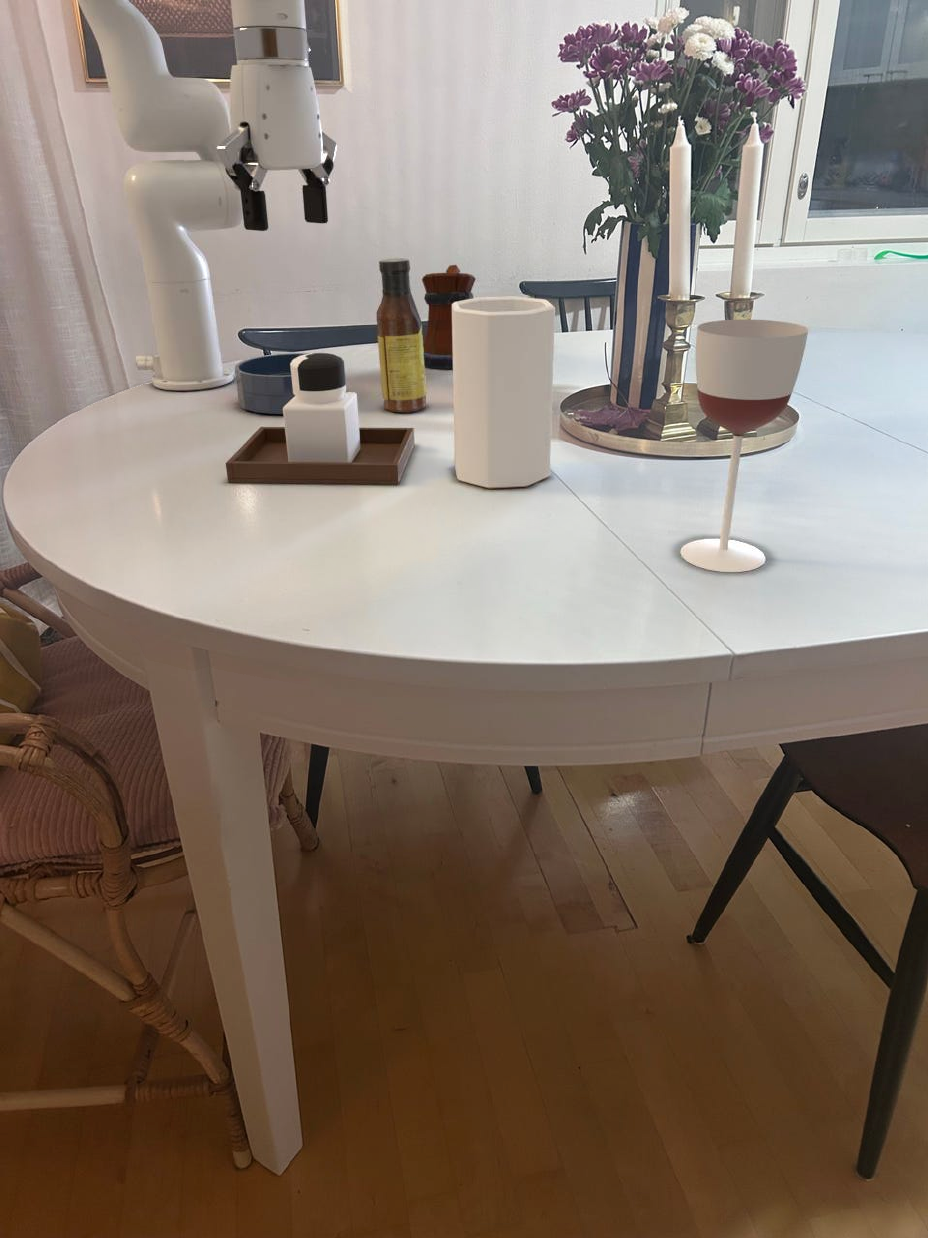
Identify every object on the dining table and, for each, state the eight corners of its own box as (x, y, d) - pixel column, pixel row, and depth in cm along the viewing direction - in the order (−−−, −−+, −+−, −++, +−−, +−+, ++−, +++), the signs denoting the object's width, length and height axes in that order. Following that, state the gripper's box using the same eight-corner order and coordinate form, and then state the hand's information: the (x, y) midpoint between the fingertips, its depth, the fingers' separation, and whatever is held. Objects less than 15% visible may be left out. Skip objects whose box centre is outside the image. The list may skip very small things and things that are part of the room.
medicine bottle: (361, 450, 110) (354, 349, 104) (348, 469, 104) (340, 363, 98) (304, 449, 111) (294, 349, 105) (288, 467, 104) (276, 362, 99)
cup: (482, 496, 97) (481, 316, 88) (436, 467, 105) (431, 301, 97) (569, 479, 101) (577, 306, 92) (518, 452, 110) (521, 292, 101)
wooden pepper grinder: (424, 347, 166) (421, 260, 159) (486, 347, 165) (486, 260, 158) (413, 370, 150) (409, 274, 143) (482, 369, 149) (482, 273, 142)
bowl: (226, 415, 127) (220, 376, 124) (256, 389, 140) (251, 352, 138) (332, 416, 126) (329, 376, 123) (352, 389, 139) (350, 353, 136)
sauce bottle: (435, 407, 129) (431, 258, 120) (404, 416, 125) (396, 263, 116) (404, 400, 133) (397, 255, 124) (372, 408, 129) (363, 259, 120)
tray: (228, 482, 102) (225, 463, 101) (262, 444, 114) (260, 426, 113) (398, 484, 100) (397, 464, 99) (414, 445, 113) (413, 427, 112)
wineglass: (663, 539, 86) (684, 321, 76) (753, 535, 86) (784, 318, 77) (689, 575, 79) (715, 339, 69) (786, 570, 79) (825, 335, 70)
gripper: (302, 55, 104) (315, 218, 112) (183, 47, 91) (207, 231, 100) (352, 53, 100) (361, 221, 108) (235, 44, 88) (255, 235, 96)
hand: (287, 226), depth 104 cm, fingers open, 9 cm apart
